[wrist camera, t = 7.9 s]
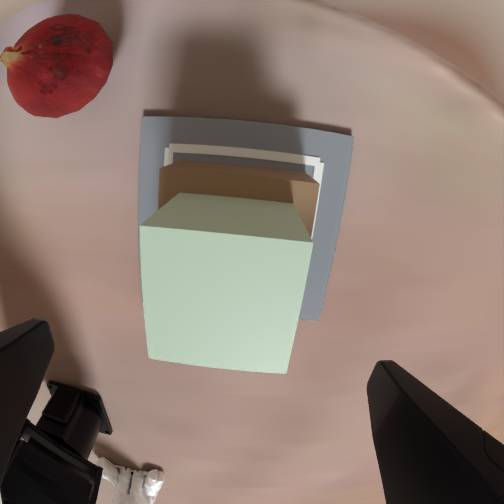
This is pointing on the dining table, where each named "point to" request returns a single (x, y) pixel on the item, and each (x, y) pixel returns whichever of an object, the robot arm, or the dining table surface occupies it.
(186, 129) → the blueprint mat
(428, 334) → the dining table surface
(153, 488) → the white creature statuette
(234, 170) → the walnut base
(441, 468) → the robot arm
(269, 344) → the sage block
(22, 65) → the onion
